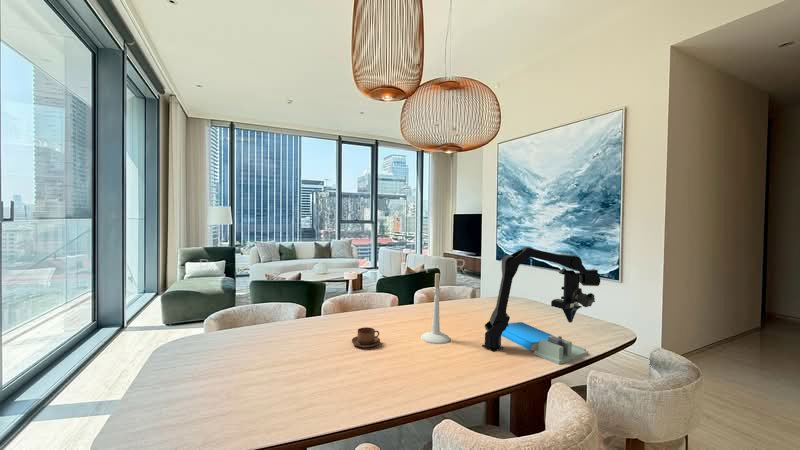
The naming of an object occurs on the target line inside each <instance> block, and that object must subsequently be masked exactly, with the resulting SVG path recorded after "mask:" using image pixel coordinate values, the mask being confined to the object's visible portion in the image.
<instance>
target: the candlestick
mask: <svg viewBox="0 0 800 450" xmlns="http://www.w3.org/2000/svg"><path fill="white" fill-rule="evenodd" d="M440 275H441V274H440V273H438V272H437V273H434V287H433V293H434V296H433V297H434V298H433V299H434V300H433V310H432V311H433V313H432V324H431V331H427V332H425V333H423V334H422V335H421V336H420V338H421V340H422V341H423V342H425V343H427V344H428V343H429V344H433V345H442V344H443V345H444V344H447V343H449V342H450V339H451V338H450V336H449V335H448V334H447V333H444V332H442V331H440V330H441V328H440V322H441V321H440V296H439V295H440V293H441V290H442V288H440Z"/></svg>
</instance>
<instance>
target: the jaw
mask: <svg viewBox="0 0 800 450" xmlns="http://www.w3.org/2000/svg"><path fill="white" fill-rule="evenodd" d="M553 336H554V337H555V335H553ZM549 337H552V336H549ZM556 337H557V338H560V339H562V347H564V350H563V354H564V355H567V356H569V355H571V351H572V344H573V342H572V341H570V340H566V339H563V337H562V336H559V335H558V336H556ZM548 341H549V338H548Z"/></svg>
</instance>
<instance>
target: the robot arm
mask: <svg viewBox="0 0 800 450" xmlns="http://www.w3.org/2000/svg"><path fill="white" fill-rule="evenodd" d="M530 258H533V259H538V260H542V261H546V262H550V263H555V264H557V265H560V266H561V267H563V268H562V269H561V270H558V274H560V275H563V286H561V289H560V290H563V295H562V296H560V298H555V299H552V300H551V303H550V304H551V307H554V308H557V309H561V310H562V312H563V313H564V316H565V318H566V320H567V321H568V323H570V324H571V323H573V320H574V318H575V315H576V313H577V311H578V310H579V309H582V307H584V308H589V307H592V305H593V303H595V302H596V301H595V300H596V298H595V293H592V292H590V293H589V292H588V293H584V292H583V289H582V287H580V284H581V285H582V286H584V287H599V286H600V284H601V277H600V275H599V272H598V269H595V268H594V269H592V268H591V269H586V267H585V266H584V265H583V260H582V259H581V257H579V256H577V255H573V254H566V253H565V254H564V253H553V252H549V251H544V250H539V249H535V248H532V247H529V246H525V247H523V248H521V249H519V250H517V251H515V252H514V253H511V254H507V255H505V256H503V258H502V259H501V280H500V284H499V285H500V286H499V290H498V296H497V300H496V305H495V308H494V310H493V311H492V313H491V316H490V318H489V320H488V322H487V321H486V323H485V324H484V329H485V333H484V344H481V347H482V348H485V349H487V350H490V351H491V352H495V351H499V350H503V349H504V347H503V346H502V343H501V342H502V336H501V335H502V332H503V331H505V330H506V327H508V323H509V321H510V320H511V319H510V315H508V313H507V307H508V302H509V298H510V293H511V289H512V283H513V278H514V277H515V276H516V273H517V272H518V270H519V267H520V266H521V265H522V264H523V263H525V262H526V261H527V260H528V259H530ZM564 267H565V268H564ZM566 268H567V269H568V270H567V269H566ZM575 271H576V272H575Z"/></svg>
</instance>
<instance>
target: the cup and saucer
mask: <svg viewBox="0 0 800 450" xmlns="http://www.w3.org/2000/svg"><path fill="white" fill-rule="evenodd" d="M375 333H377V335H375ZM379 336H380V332H379V330H375V328H372V327H367V326H366V327H360V328H358V329H357V336H355V337H353V338H351V343H352V345H354V346H356V347H359V348H371V347H376V346H377V345H378V344H380V342H381V339H380V338H379Z"/></svg>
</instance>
